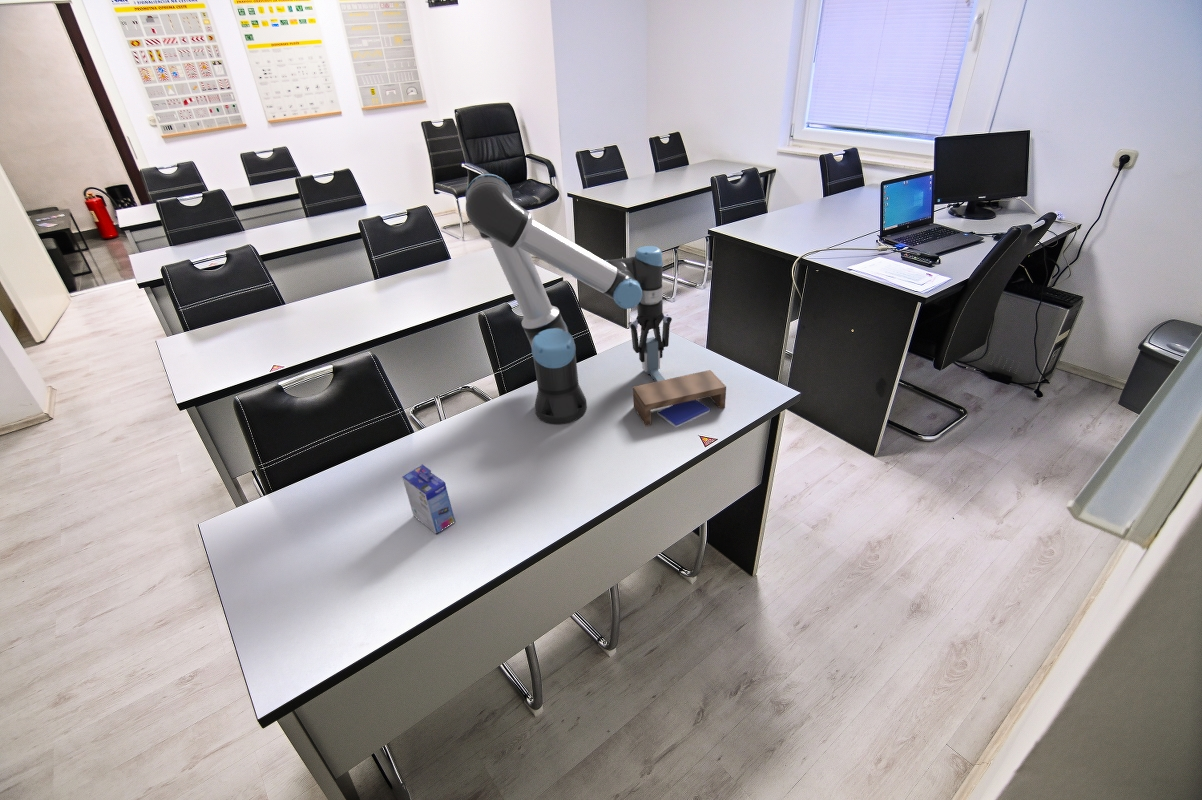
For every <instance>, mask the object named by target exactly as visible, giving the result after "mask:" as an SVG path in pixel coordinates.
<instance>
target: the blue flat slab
mask: <svg viewBox="0 0 1202 800" xmlns="http://www.w3.org/2000/svg"><path fill="white" fill-rule="evenodd" d="M709 412H711V409H710V407H709V406H707V405H705V404H704V403H702V402H700V401H699V399H696V400H692V401H687V402H683V403H679V404H674V405H670V406H666V407H664V409H661V410H659V411H657V415H658V416H659V417H661V418H662V419H663V420H665V421H666V422H668V423H669V424H671V426H673V427H675V428H678V427H680V426H683V425H684V424H687V423H688V422H691V421H693V420H694V419H697V418H699V417H701V416H704V415H705V414H708V413H709Z"/></svg>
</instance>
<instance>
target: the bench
mask: <svg viewBox="0 0 1202 800" xmlns="http://www.w3.org/2000/svg"><path fill="white" fill-rule="evenodd" d="M632 395H633V396H632V399H633V408H634V410H635V412H636V413H637V415H638V417H640V419H641V421H642V422H643V424H644V426H645V427H648V426H651V425H652V418H651V417H652V411H651V410H657V409H661V408H667V407H670V406H672V405H674V404H679V403H683V402H687V401H692V400H700V399H703V398H704V399H706V398H710V399H711V400H712V401H713V403H715V404H716V405H717V406H718V409H724V408H726V399H727V396H726V395H727V385H725V384H724V383H723V382H722V380H720V378H719V377H718V376H717V375H716V374H715V373H714V372H713V371H712V370H711V369H709V370H704V371H699V372H694V373H690V374H686V375H681V376H676V377H672V378H667V379H665V380H662V381H657V382H655V381H654V382H649V383H644V384H640V385H634V386H632Z"/></svg>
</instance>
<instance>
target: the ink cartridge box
mask: <svg viewBox="0 0 1202 800" xmlns="http://www.w3.org/2000/svg"><path fill="white" fill-rule="evenodd" d="M401 478H402V481H403V485H404V488H405V491H406V492H405V493H406V495H407V498H408V501H409V505H410V508H411V512H412V515H413V517H414V516H415V517H417V518H418V519H419V520H420V521H421V522H420V521H419V520H418V519H417V518H416V519H417V520H418V521H419V522H420V523H422V522H423V523H424V524H425V525H426V526H425V525H424V524H423V523H422V524H423V525H424V526H425V527H427V526H428V527H429V528H430V529H431V530H430V529H429V528H428V527H427V528H428V529H429V530H430V531H432V530H433V531H434V532H435V533H438V532H439V531H441V530H442V529H444V528H445V527H447V526H448V525H450V524H451V523H453V522H454V521H455V522H456V520H455V519H456V518H455V516H454V511H453V508H452V504H451V500H450V496H449V493H448V489H447V488H448V487H447V485H446V482H445V481H444V480H443V479H441V478H440V477H438V476H437V475H435V474H434V473H432V470H431V469H429V467H426V466H425V465H424V464H420V466H418V467H416V468H414V469H413V470H411V471H409V472H408V473H406V474H405V475H403V476H402V477H401ZM415 517H414V518H415ZM447 528H448V527H447ZM444 530H445V529H444ZM433 531H432V532H433ZM434 532H433V533H434ZM441 532H442V531H441ZM435 533H434V534H435ZM439 533H440V532H439ZM439 533H438V534H439Z"/></svg>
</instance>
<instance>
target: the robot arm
mask: <svg viewBox="0 0 1202 800" xmlns="http://www.w3.org/2000/svg"><path fill="white" fill-rule="evenodd" d="M465 212H466V213H465V214H466V215H467V218H468V220H469V222H470V223H471V225H473V227H474V228H475V229H476V230H477V231H478V232H479V235H480V238H482V240H486V241H488V242H489V243H490V245H491V247H492V250H493V252H494V255H495V256H496V259H497V261H498V263H499V265H500V267H501V270H502V271H503V275H504V276H505V278H506V281H507V282H508V285H509V287H510V290H511V291H512V293H513V296H514V298H515V301H516V303H517V304H518V307H519V309H520V312H521V314H522V315H523V318H522V321H521V326H522V328H523V329H522V330H524V333H525V335H526V337H527V339H528V341H529V345H530V348H531V354H532V358H533V363H534V370H535V376H536V383H537V393H536V398H535V400H534V401H535V402H534V411H535V415H536V417H537V418H538V419H539V420H540V421H543V422H545V423H548V424H552V425H553V424H554V425H561V424H568V423H571V422H574V421H576V420H578V419H580V418H581V417H583V416H584V415H585V414H586V412H587V409H588V404H587V403H588V402H587V398H586V396H585V393H584V392H583V389H582V388H581V386H580V384H579V374H578V366H577V356H576V355H577V354H576V350H577V349H576V348H577V347H576V344H575V339H574V338H573V335H572V334H571V333H570V332H569V328H568V326H567V324H566V322H565V321H564V319H563V317H562V314H561V312H560V309H559V308H558V307H557V306H554V305H552V304H551V301H550V298H549V297H548V294H547V292H546V288H545V287H544V285H543V282H542V279H541V277H540V274H539V272H538V270H537V267H536V265H535V262H534V260H533V258H532V256H534V257H535V258H538V259H539V260H541V261H543V262H545V263H547V264H549V265H550V266H553V267H554V268H556V269H558V270H559V271H561V272H564V273H565V274H567V275H568V276H570V277H573V278H574V279H576V280H578V281H580V282H582V283H583V284H585V285H587V286H589V287H590V288H593V289H594V290H596V291H598V292H600V293H602V294H604V296H607V297H608V298H610V299H613V302H614V303H615V304H616V305H618V307H620V308H621V309H624V310H625V309H626V310H629V309H634V308H635V307H637V316H636V318H635V320H634V321H629V322H628V326H629V328H630V333H631V334H630V335H631V341H632V342H631V344H632V349H633V351H634V352H635V354H638V356H639V361H640V362H641V367H642V370H643V371H644V372H645V373H646V372H647V353H646V351H645V347H646V341H647V338H648V335H649V332H650V330H653V334H654V338H655V339H656V340H657V341H658V370H660V369H661V359H663V357H664V355H663V352H664V350H665V348H667V347H669V344H670V343H669V342H670V341H669V340H670V327H671V326H670V325H671V322H672V321H673V318H672V317H671V316H670V315H669V314H664V312H663V305H664V302H663V300H662V299H663V266H664V263H663V253H662V250H661V249H660V248H659V247H657V246H654V245H646V246H644V245H643V246H641V247H638V248H637V249H636V250H635V254H634V256H630V257H623V258H616V259H605V260H604V259H602V258H601V257H599V256H597V255H595V254H593V253H592V252H591V251H589V250H587V249H585V248H584V247H582V246H581V245H579V244H577V243H575V242H573V241H572V240H571V239H568V238H566V237H564V236H563V235H561V234H559V232H556V231H554V230H552V229H551V228H549V227H547V226H546V225H544V224H542V223H541V222H539V221H537V220H535V219H533V218H532V215H531V212H530V211H528V210H527V209H525V208H523V207H522V206H521V205H519V204H518V203H517V202H516V201H515V199H514V196H513V191H512V189H511V187H510V185H509V184H508V182H507V181H505V179H504V178H502V177H501V176H498V175H496V174H492V173H483V174H480V175H478V176H476V177H475V178H473V179H472V180H471V181H470V183H469V184H468V185H467V188H466V190H465ZM661 323H662V336H661V329H660V328H661V327H660V325H661ZM638 325H639V326H640V337H639V334H638V333H639V332H638V327H639V326H638Z"/></svg>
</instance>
